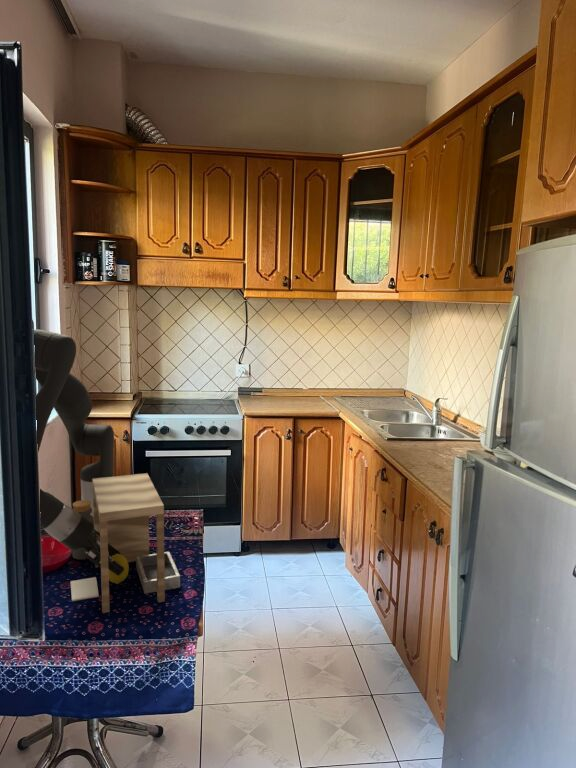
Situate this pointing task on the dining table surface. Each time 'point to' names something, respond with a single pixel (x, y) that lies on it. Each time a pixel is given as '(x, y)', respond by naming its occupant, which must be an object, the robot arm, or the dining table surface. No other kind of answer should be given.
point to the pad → (84, 589)
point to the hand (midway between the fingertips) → (119, 564)
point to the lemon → (123, 575)
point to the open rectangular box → (149, 572)
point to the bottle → (85, 511)
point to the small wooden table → (127, 523)
